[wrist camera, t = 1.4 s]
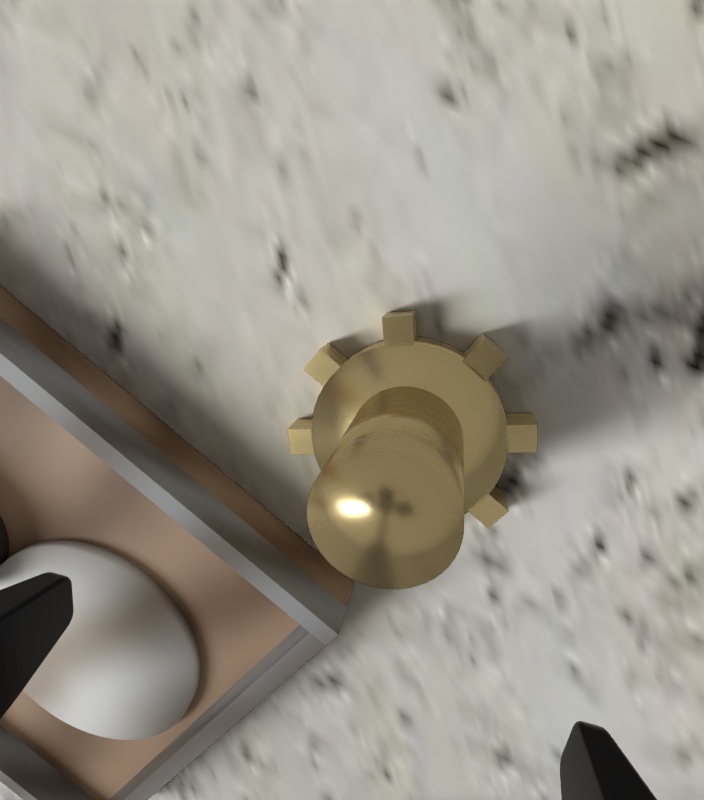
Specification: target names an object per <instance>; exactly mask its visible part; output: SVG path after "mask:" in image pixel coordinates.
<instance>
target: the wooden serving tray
mask: <svg viewBox="0 0 704 800" xmlns="http://www.w3.org/2000/svg"><path fill="white" fill-rule="evenodd" d="M46 572H53V573H57V574H60V575H64V576H67V577H69V578H70V580H71V582H72V594H73V608H74V612H73V617H72V620H71V622H70V624H69V626H68V627H67V629H66V630H65V631H64V633H63V634H62V636H61V637H60V638H59V640H58V641H57V643H56V644H55V646H54V647H53V648H52V650H51V651H50V653H49V654H48V655H47V657H46V658H45V660H44V661H43V662H42V664H41V665H40V667H39V668H38V669H37V671H36V672H35V674H34V675H33V676H32V678H31V679H30V681H29V682H28V684H27V685H26V686H25V688H24V689H23V691H22V692H21V693H20V695H19V696H18V697H17V699H16V700H15V701H14V703H13V704H12V705H11V707H10V708H9V709H8V710H7V711H6V713H5V714H4V715H3V716H2V718H1V719H0V781H1V782H2V783H3V784H5V785H6V786H7V787H8V788H10V789H11V790H12V791H13V792H15V793H16V794H17V795H19V796H20V797H21V798H22V799H24V800H148V799H149V798H150V797H151V796H152V795H154V794H155V793H156V792H157V791H158V790H159V789H161V788H162V787H163V786H164V785H165V784H166V783H167V782H169V781H170V780H171V779H172V778H173V777H174V776H176V775H177V774H178V773H179V772H180V771H181V770H183V769H184V768H185V767H186V766H187V765H188V764H189V763H191V762H192V761H193V760H194V759H195V758H196V757H198V756H199V755H200V754H201V753H202V752H203V751H205V750H206V749H207V748H208V747H209V746H210V745H211V744H213V743H214V742H215V741H216V740H217V739H218V738H220V737H221V736H222V735H223V734H224V733H225V732H227V731H228V730H229V729H230V728H231V727H232V726H233V725H235V724H236V723H237V722H238V721H239V720H240V719H242V718H243V717H244V716H245V715H246V714H247V713H248V712H250V711H251V710H252V709H253V708H254V707H255V706H257V705H258V704H259V703H260V702H261V701H262V700H264V699H265V698H266V697H267V696H268V695H269V694H270V693H272V692H273V691H274V690H275V689H276V688H277V687H279V686H280V685H281V684H282V683H283V682H284V681H286V680H287V679H288V678H289V677H290V676H291V675H292V674H294V673H295V672H296V671H297V670H298V669H299V668H301V667H302V666H303V665H304V664H305V663H306V662H308V661H309V660H310V659H311V658H312V657H313V656H314V655H316V654H317V653H318V652H319V651H320V650H321V649H323V648H324V647H325V646H326V645H327V644H328V643H330V642H331V641H332V640H333V639H334V638H335V637H336V636H338V634H339V631H340V628H341V625H342V622H343V619H344V615H345V612H346V609H347V606H348V603H349V600H350V596H351V593H352V590H353V587H354V584H355V583H354V582H352V581H351V580H350V579H349V578H348V577H346V576H345V575H344V574H342V573H341V572H340V571H338V570H337V569H336V568H334V567H333V566H332V565H331V564H330V563H329V562H328V561H327V560H326V559H325V558H324V557H323V556H321V555H320V554H319V553H318V552H317V551H315V550H314V549H313V548H312V547H311V546H310V545H308V544H307V543H306V542H305V541H304V540H302V539H301V538H300V537H299V536H298V535H296V534H295V533H294V532H293V531H292V530H290V529H289V528H288V527H287V526H286V525H285V524H283V523H282V522H281V521H280V520H279V519H277V518H276V517H275V516H274V515H273V514H271V513H270V512H269V511H268V510H267V509H265V508H264V507H263V506H262V505H261V504H260V503H258V502H257V501H256V500H255V499H254V498H252V497H251V496H250V495H249V494H248V493H246V492H245V491H244V490H243V489H242V488H241V487H239V486H238V485H237V484H236V483H235V482H233V481H232V480H231V479H230V478H229V477H227V476H226V475H225V474H224V473H223V472H221V471H220V470H219V469H218V468H217V467H216V466H214V465H213V464H212V463H211V462H210V461H208V460H207V459H206V458H205V457H204V456H202V455H201V454H200V453H199V452H198V451H196V450H195V449H194V448H193V447H192V446H191V445H189V444H188V443H187V442H186V441H185V440H183V439H182V438H181V437H180V436H179V435H177V434H176V433H175V432H174V431H173V430H171V429H170V428H169V427H168V426H167V425H166V424H164V423H163V422H162V421H161V420H160V419H158V418H157V417H156V416H155V415H154V414H152V413H151V412H150V411H149V410H148V409H146V408H145V407H144V406H143V405H142V404H141V403H139V402H138V401H137V400H136V399H135V398H133V397H132V396H131V395H130V394H129V393H127V392H126V391H125V390H124V389H123V388H121V387H120V386H119V385H118V384H117V383H116V382H114V381H113V380H112V379H111V378H110V377H108V376H107V375H106V374H105V373H104V372H102V371H101V370H100V369H99V368H98V367H96V366H95V365H94V364H93V363H92V362H91V361H89V360H88V359H87V358H86V357H85V356H83V355H82V354H81V353H80V352H79V351H77V350H76V349H75V348H74V347H73V346H71V345H70V344H69V343H68V342H67V341H66V340H64V339H63V338H62V337H61V336H60V335H58V334H57V333H56V332H55V331H54V330H52V329H51V328H50V327H49V326H48V325H46V324H45V323H44V322H43V321H42V320H41V319H39V318H38V317H37V316H36V315H35V314H33V313H32V312H31V311H30V310H29V309H27V308H26V307H25V306H24V305H23V304H21V303H20V302H19V301H18V300H17V299H16V298H14V297H13V296H12V295H11V294H10V293H8V292H7V291H6V290H5V289H4V288H2V287H1V286H0V590H1V589H4V588H6V587H9V586H12V585H14V584H17V583H19V582H22V581H25V580H27V579H30V578H32V577H35V576H38V575H40V574H43V573H46Z"/></svg>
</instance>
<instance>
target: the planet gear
mask: <svg viewBox="0 0 704 800" xmlns="http://www.w3.org/2000/svg"><path fill="white" fill-rule="evenodd" d="M382 323H383V335H384V340H383V341H379V342H376V343H374V344H371V345H369V346H367V347H365V348H363V349H362V350H360V351H358V352H356V353H355V354H354V355H353V356H351V357H350V358H349V359H348V358H346V357H345V356H344V355H343V354H342V353H341V352H340V351H338V350H337V349H336V348H335V347H334V346H333V345H331V344H330V343H327V344H326V345H325V346H324V347H322V348H321V349H320V350H319V351H318V352H317V354H316V355H315V356H314V357H313V359H312V360H311V361H310V362H309V364H308V365H307V366H306V367H305V368H304V370H305V371H306V372H307V373H308V374H309V375H310V376H312V377H313V378H314V379H315V380H316V381H317V382H319V383H320V384H321V385H322V386H323V389H322V391H321V393H320V395H319V397H318V399H317V402H316V405H315V408H314V412H313V417H312V418H310V419H297V420H296V421H295V422H294V423H293V424H292V425H291V426H290V427H289V428H288V429H287V431H288V438H289V445H290V451H291V454H315V457H316V460H317V463H318V465H319V467H320V469H321V472H320V474H319V476H318V477H317V479H316V481H315V482H314V484H313V486H312V488H311V491H310V493H309V497H308V502H307V522H308V526H309V530H310V533H311V536H312V538H313V540H314V542H315V544H316V546H317V548H318V549H319V551H320V552H321V554H322V555H323V556H324V557H325V559H326V560H327V561H328V562H329V563H330V564H331V565H332V566H333V567H334V568H336V569H337V570H338V571H340V572H341V573H342V574H344V575H346V576H347V577H349V578H351V579H353V580H355V581H357V582H359V583H362V584H365V585H368V586H372V587H376V588H383V589H405V588H411V587H415V586H419V585H421V584H424V583H427V582H428V581H430V580H432V579H434V578H436V577H437V576H438V575H440V574H441V573H442V572H443V571H445V570H446V569H447V568H448V567H449V565H450V564H451V563H452V562H453V560H454V559H455V557H456V555H457V553H458V552H459V549H460V546H461V543H462V539H463V534H464V514H466V513H468V512H470V513H471V514H472V515H473V516H475V517H476V518H477V519H478V520H479V521H480V522H482V523H483V524H484V525H485V526H486V527H487V528H489V527H490V526H492V525H493V524H494V523H495V522H496V521H498V520H499V519H500V518H501V517H502V516H504V515H505V514H506V513H507V512H508V505H507V499H506V495H505V494H504V493H503V492H502V491H500V490H499V489H498V488H497V487H496V486H495V485H496V484H497V482H498V480H499V478H500V476H501V474H502V472H503V469H504V466H505V464H506V459H507V454H508V453H525V452H537V423H536V421H535V418H534V416H533V413H510V414H505V412H504V408H503V404H502V401H501V398H500V396H499V393H498V391H497V389H496V387H495V385H494V384H493V382H492V380H491V379H490V378H489V377H490V376H491V375H492V374H493V373H494V372H495V371H496V370H497V369H498V368H499V367H500V366H501V365H502V364H503V363H504V362H505V361H506V360H507V358H506V355H505V353H504V351H503V350H501V349H500V348H499V347H498V346H497V345H496V344H495V343H493V342H492V341H491V340H490V339H489V338H488V337H487V336H485V335H484V334H483V333H482V334H481V335H480V336H479V337H478V338H477V339H476V340H475V341H474V343H473V344H472V345H471V346H470V347H469V348H468V349H467V350H466V351H465V352H464V353H463V352H461V351H459V350H458V349H456V348H454V347H452V346H450V345H447V344H445V343H442V342H439V341H436V340H432V339H428V338H420V337H417V328H416V311H403V312H389V313H386V314H385V315H384V316H383V317H382Z"/></svg>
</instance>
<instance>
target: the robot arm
mask: <svg viewBox="0 0 704 800" xmlns="http://www.w3.org/2000/svg"><path fill="white" fill-rule="evenodd" d="M73 612H74V608H73V594H72V582H71V580H70V578H69V577H67V576H64V575H60V574H57V573H53V572H46V573H43V574H40V575H38V576H35V577H32V578H30V579H27V580H25V581H22V582H19V583H17V584H14V585H12V586H9V587H6V588H4V589H1V590H0V719H1V718H2V716H3V715H4V714H5V713H6V711H7V710H8V709H9V708H10V707H11V705H12V704H13V703H14V701H15V700H16V699H17V697H18V696H19V695H20V693H21V692H22V691H23V689H24V688H25V686H26V685H27V684H28V682H29V681H30V679H31V678H32V676H33V675H34V674H35V672H36V671H37V669H38V668H39V667H40V665H41V664H42V662H43V661H44V660H45V658H46V657H47V655H48V654H49V653H50V651H51V650H52V648H53V647H54V646H55V644H56V643H57V641H58V640H59V638H60V637H61V636H62V634H63V633H64V631H65V630H66V629H67V627H68V626H69V624H70V622H71V620H72V617H73ZM560 779H561V794H562V800H657V799H656V798H655V796H654V795H653V793H652V792H651V791H650V789H649V788H648V787H647V785H646V784H645V782H644V781H643V780H642V778H641V777H640V775H639V774H638V773H637V771H636V770H635V769H634V767H633V766H632V764H631V763H630V762H629V760H628V759H627V757H626V756H625V755H624V753H623V752H622V751H621V749H620V748H619V746H618V745H617V744H616V742H615V741H614V739H613V738H612V737H611V735H610V734H609V733H608V732H607V731H606V730H605V729H604V728H602V727H600V726H597V725H593V724H590V723H586V722H582V721H578V722H576V723H575V724H574V726H573V728H572V731H571V733H570V736H569V738H568V741H567V743H566V746H565V748H564V751H563V754H562V757H561V763H560Z"/></svg>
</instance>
